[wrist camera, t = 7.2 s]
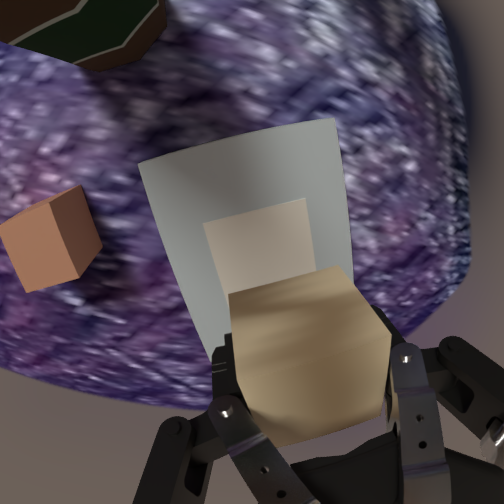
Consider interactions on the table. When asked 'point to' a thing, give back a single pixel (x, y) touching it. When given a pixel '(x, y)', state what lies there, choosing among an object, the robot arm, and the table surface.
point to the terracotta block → (52, 240)
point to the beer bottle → (84, 29)
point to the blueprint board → (249, 215)
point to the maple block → (309, 355)
